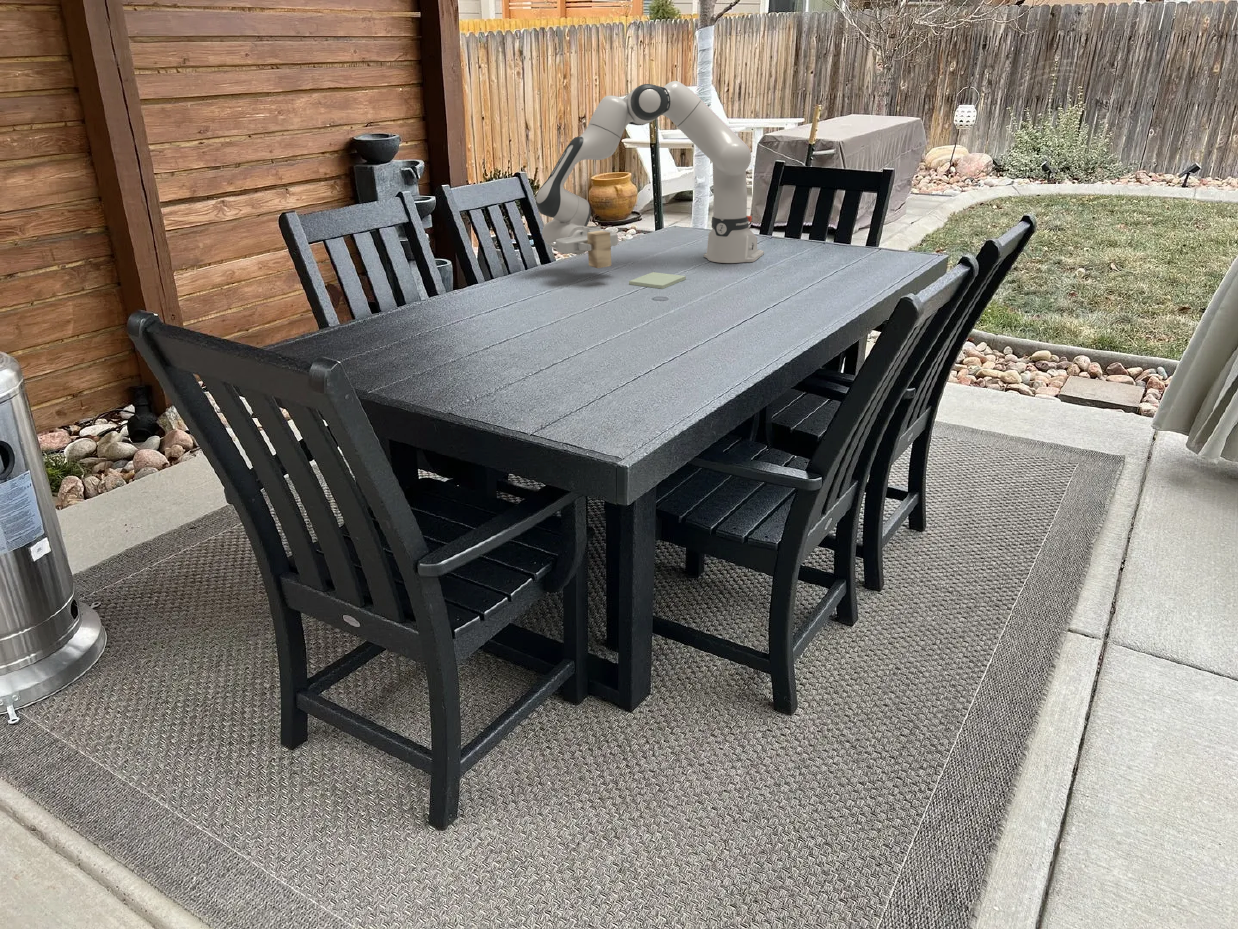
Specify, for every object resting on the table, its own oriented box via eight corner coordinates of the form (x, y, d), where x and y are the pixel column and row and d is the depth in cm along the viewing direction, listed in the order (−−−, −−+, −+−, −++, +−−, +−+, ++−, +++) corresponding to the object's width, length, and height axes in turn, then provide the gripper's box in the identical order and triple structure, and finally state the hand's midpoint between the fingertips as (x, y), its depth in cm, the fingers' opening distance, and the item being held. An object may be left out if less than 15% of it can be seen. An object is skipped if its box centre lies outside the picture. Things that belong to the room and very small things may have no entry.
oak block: (588, 265, 282) (587, 232, 278) (602, 263, 285) (600, 230, 281) (597, 268, 279) (596, 234, 274) (611, 265, 281) (610, 232, 277)
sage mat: (652, 275, 292) (652, 272, 292) (685, 279, 286) (685, 276, 286) (628, 284, 282) (628, 281, 281) (662, 288, 276) (662, 285, 275)
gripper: (547, 234, 282) (571, 240, 272) (602, 225, 293) (627, 231, 282) (548, 254, 285) (572, 261, 275) (603, 245, 295) (628, 251, 285)
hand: (600, 246), depth 279 cm, fingers closed on oak block, 5 cm apart
